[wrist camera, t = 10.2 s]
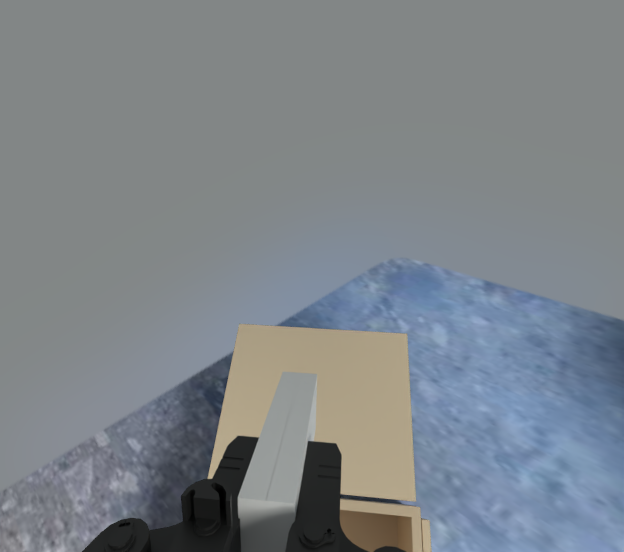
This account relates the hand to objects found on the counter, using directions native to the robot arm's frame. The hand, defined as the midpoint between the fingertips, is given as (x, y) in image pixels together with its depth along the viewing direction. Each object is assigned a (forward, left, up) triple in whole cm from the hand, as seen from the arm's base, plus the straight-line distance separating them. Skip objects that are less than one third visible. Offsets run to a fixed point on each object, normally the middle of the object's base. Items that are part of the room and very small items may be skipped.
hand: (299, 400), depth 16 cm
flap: (0, +4, -13) cm, 13 cm away
